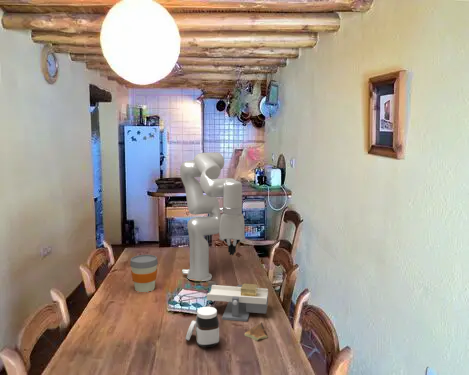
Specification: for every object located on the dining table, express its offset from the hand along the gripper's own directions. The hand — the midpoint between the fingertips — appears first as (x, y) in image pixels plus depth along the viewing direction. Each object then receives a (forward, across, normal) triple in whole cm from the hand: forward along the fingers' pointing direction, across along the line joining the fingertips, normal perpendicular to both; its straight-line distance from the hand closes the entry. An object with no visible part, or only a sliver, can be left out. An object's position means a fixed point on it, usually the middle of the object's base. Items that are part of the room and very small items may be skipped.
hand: (232, 254), depth 164 cm
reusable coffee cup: (+24, -44, +12) cm, 51 cm away
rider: (+16, +8, -4) cm, 18 cm away
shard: (+23, +12, -21) cm, 34 cm away
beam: (+21, +3, -4) cm, 22 cm away
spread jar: (+23, -5, -30) cm, 38 cm away
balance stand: (+23, +4, -4) cm, 24 cm away
